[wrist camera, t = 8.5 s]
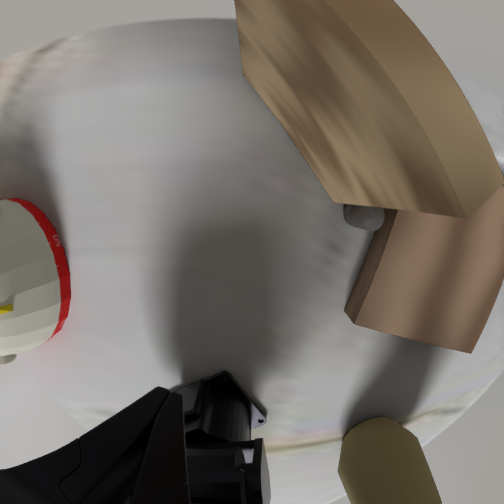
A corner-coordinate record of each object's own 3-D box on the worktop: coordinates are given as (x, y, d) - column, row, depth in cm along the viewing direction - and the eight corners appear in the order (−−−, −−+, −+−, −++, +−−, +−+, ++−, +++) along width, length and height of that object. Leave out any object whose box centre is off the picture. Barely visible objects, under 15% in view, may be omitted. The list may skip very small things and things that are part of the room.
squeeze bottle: (409, 397, 23) (495, 534, 5) (399, 447, 25) (455, 567, 7) (330, 419, 23) (377, 591, 6) (330, 466, 25) (361, 603, 7)
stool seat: (506, 202, 20) (523, 204, 17) (457, 342, 22) (471, 353, 20) (403, 136, 19) (419, 130, 17) (344, 310, 21) (353, 324, 19)
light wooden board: (372, 216, 20) (525, 253, 6) (350, 231, 20) (489, 292, 6) (266, 61, 18) (278, -89, 4) (243, 74, 18) (224, -75, 4)
